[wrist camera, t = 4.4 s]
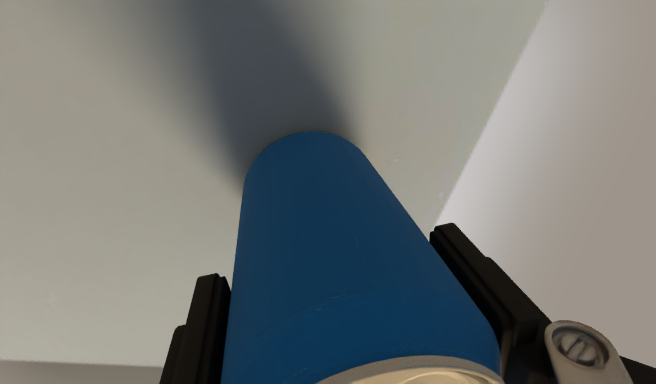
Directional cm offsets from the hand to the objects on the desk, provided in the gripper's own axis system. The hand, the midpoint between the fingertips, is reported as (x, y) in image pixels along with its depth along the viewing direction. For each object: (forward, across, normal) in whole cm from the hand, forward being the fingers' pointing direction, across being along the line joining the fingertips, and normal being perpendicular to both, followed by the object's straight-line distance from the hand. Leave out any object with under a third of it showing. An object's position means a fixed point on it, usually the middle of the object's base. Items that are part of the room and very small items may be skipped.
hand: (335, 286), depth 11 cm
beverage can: (+7, 0, 0) cm, 7 cm away
